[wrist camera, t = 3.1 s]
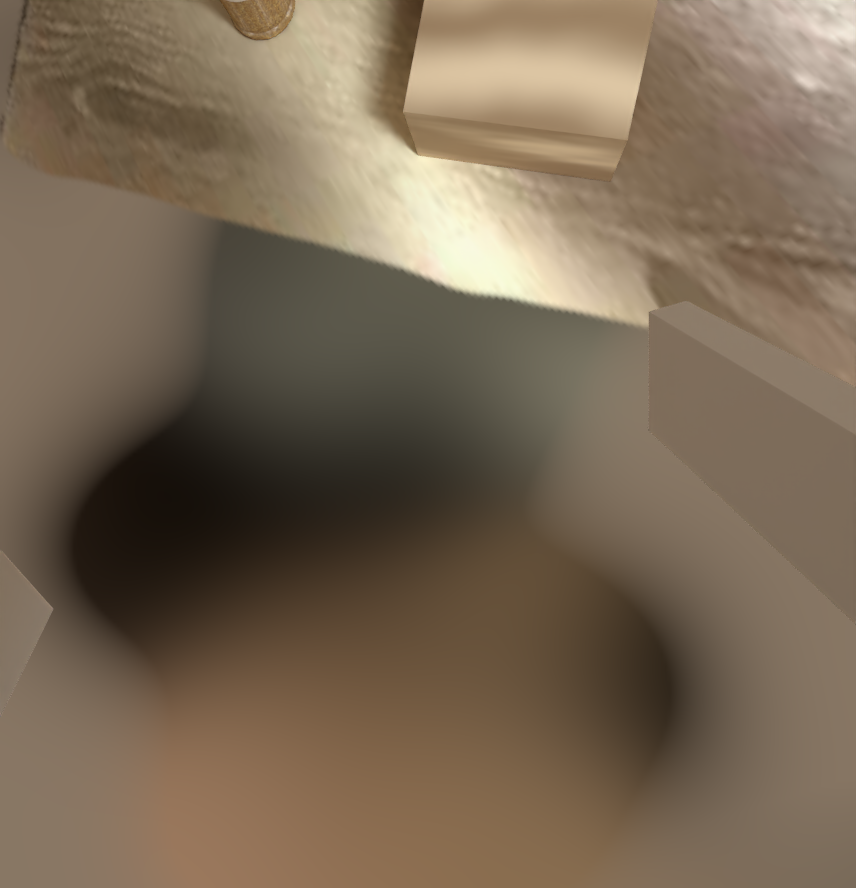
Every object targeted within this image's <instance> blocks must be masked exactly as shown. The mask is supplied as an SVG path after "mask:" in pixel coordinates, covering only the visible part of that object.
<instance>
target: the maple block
mask: <svg viewBox="0 0 856 888" xmlns="http://www.w3.org/2000/svg"><path fill="white" fill-rule="evenodd" d="M657 2H658V0H424V4H423V9H422V14H421V20H420V25H419V30H418V35H417V40H416V46H415V51H414V56H413V61H412V67H411V72H410V77H409V82H408V87H407V93H406V98H405V103H404V108H403V113H404V116H405V119H406V122H407V125H408V128H409V130H410V133H411V136H412V139H413V142H414V145H415V148H416V150H417V153H418V155H420V156H427V157H434V158H441V159H449V160H456V161H463V162H470V163H478V164H485V165H492V166H499V167H507V168H514V169H521V170H529V171H536V172H543V173H550V174H558V175H565V176H572V177H579V178H587V179H594V180H601V181H608V182H611V179H612V177H613V174H614V172H615V169H616V167H617V164H618V162H619V159H620V157H621V154H622V152H623V149H624V147H625V144H626V142H627V139H628V134H629V130H630V125H631V121H632V116H633V111H634V107H635V102H636V98H637V93H638V89H639V84H640V79H641V75H642V70H643V66H644V61H645V57H646V52H647V47H648V43H649V38H650V34H651V29H652V24H653V20H654V15H655V11H656V6H657Z"/></svg>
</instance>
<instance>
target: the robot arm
mask: <svg viewBox="0 0 856 888" xmlns="http://www.w3.org/2000/svg"><path fill="white" fill-rule="evenodd" d="M649 431H650V432H651V433H652V434H653V435H654V436H655V437H656V438H657V439H658V440H659V441H660V442H661V443H662V444H663V445H664V446H666V447H667V448H668V449H669V450H670V451H671V452H672V453H673V454H674V455H675V456H676V457H677V458H678V459H679V460H681V461H682V462H683V463H684V464H685V465H686V466H687V467H688V468H689V469H690V470H691V471H692V472H693V473H694V474H695V475H696V476H698V477H699V478H700V479H701V480H702V481H703V482H704V483H705V484H706V485H707V486H708V487H709V488H710V489H711V490H712V491H714V492H715V493H716V494H717V495H718V496H719V497H720V498H721V499H722V500H723V501H724V502H725V503H726V504H727V505H728V506H730V507H731V508H732V509H733V510H734V511H735V512H736V513H737V514H738V515H739V516H740V517H741V518H742V519H743V520H744V521H746V522H747V523H748V524H749V525H750V526H751V527H752V528H753V529H754V530H755V531H756V532H757V533H759V535H760V536H762V537H763V538H764V539H765V540H766V541H767V542H768V543H769V544H770V545H771V546H772V547H773V548H774V549H776V550H777V551H778V552H779V553H780V554H781V555H782V556H783V557H784V558H785V559H786V560H787V561H788V562H789V563H790V564H791V565H793V566H794V567H795V568H796V569H797V570H798V571H799V572H800V573H801V574H802V575H803V576H804V577H805V578H806V579H807V580H809V581H810V582H811V583H812V584H813V585H814V586H815V587H816V588H817V589H818V590H819V591H820V592H821V593H822V594H823V595H825V596H826V597H827V598H828V599H829V600H830V601H831V602H832V603H833V604H834V605H835V606H836V607H837V608H838V609H840V610H841V611H842V612H843V613H844V614H845V615H846V616H847V617H848V618H849V619H850V620H851V621H852V622H853V623H855V625H856V387H855V386H853V385H851V384H849V383H847V382H845V381H843V380H841V379H839V378H837V377H835V376H833V375H831V374H829V373H827V372H825V371H823V370H821V369H819V368H817V367H815V366H813V365H811V364H809V363H808V362H806V361H804V360H802V359H800V358H798V357H796V356H794V355H792V354H790V353H788V352H786V351H784V350H782V349H780V348H778V347H776V346H774V345H772V344H770V343H768V342H766V341H764V340H762V339H760V338H758V337H756V336H754V335H752V334H751V333H749V332H747V331H745V330H743V329H741V328H739V327H737V326H735V325H733V324H731V323H729V322H727V321H725V320H723V319H721V318H719V317H717V316H715V315H713V314H711V313H709V312H707V311H705V310H703V309H701V308H699V307H697V306H695V305H694V304H692V303H690V302H688V301H684V302H681V303H677V304H674V305H670V306H667V307H663V308H660V309H657V310H653V311H650V312H649ZM52 610H53V608H52V607H51V606H50V605H49V604H48V602H47V601H46V600H45V599H44V598H43V597H42V596H41V595H40V594H39V592H38V591H37V590H36V589H35V588H34V587H33V586H32V585H31V583H30V582H29V581H28V580H27V579H26V578H25V577H24V575H23V574H22V573H21V572H20V571H19V570H18V569H17V568H16V566H15V565H14V564H13V563H12V562H11V561H10V560H9V559H8V557H7V556H6V555H5V554H4V553H3V552H2V551H1V550H0V716H1V714H2V712H3V710H4V708H5V706H6V704H7V702H8V700H9V698H10V696H11V694H12V692H13V690H14V688H15V686H16V684H17V682H18V680H19V678H20V676H21V674H22V671H23V669H24V667H25V665H26V663H27V661H28V659H29V657H30V655H31V653H32V651H33V649H34V647H35V645H36V643H37V641H38V639H39V636H40V635H41V633H42V631H43V628H44V627H45V624H46V623H47V620H48V618H49V616H50V614H51V612H52Z"/></svg>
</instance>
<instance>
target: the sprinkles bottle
mask: <svg viewBox="0 0 856 888" xmlns="http://www.w3.org/2000/svg"><path fill="white" fill-rule="evenodd" d="M220 2H221V3H222V4H223V6H224V7H225V9H226V10H227V12H228V13H229V14H230V16H231V19H232V21H233V23H234V24H235V27H236V28H237V29H238V30H239V31H240V32H241V33H243V34H244V35H245V36H248V37H249V38H251V39H256V40H259V39H262V40H264V39H270V38H272V37H275V36H277V35H278V34H279V33H281V32H282V31H283V30H284V29H285V28H286V27H287V25H288V23H289V22H290V21H291V19H292V15H293V12H294V8H295V0H220Z"/></svg>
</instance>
